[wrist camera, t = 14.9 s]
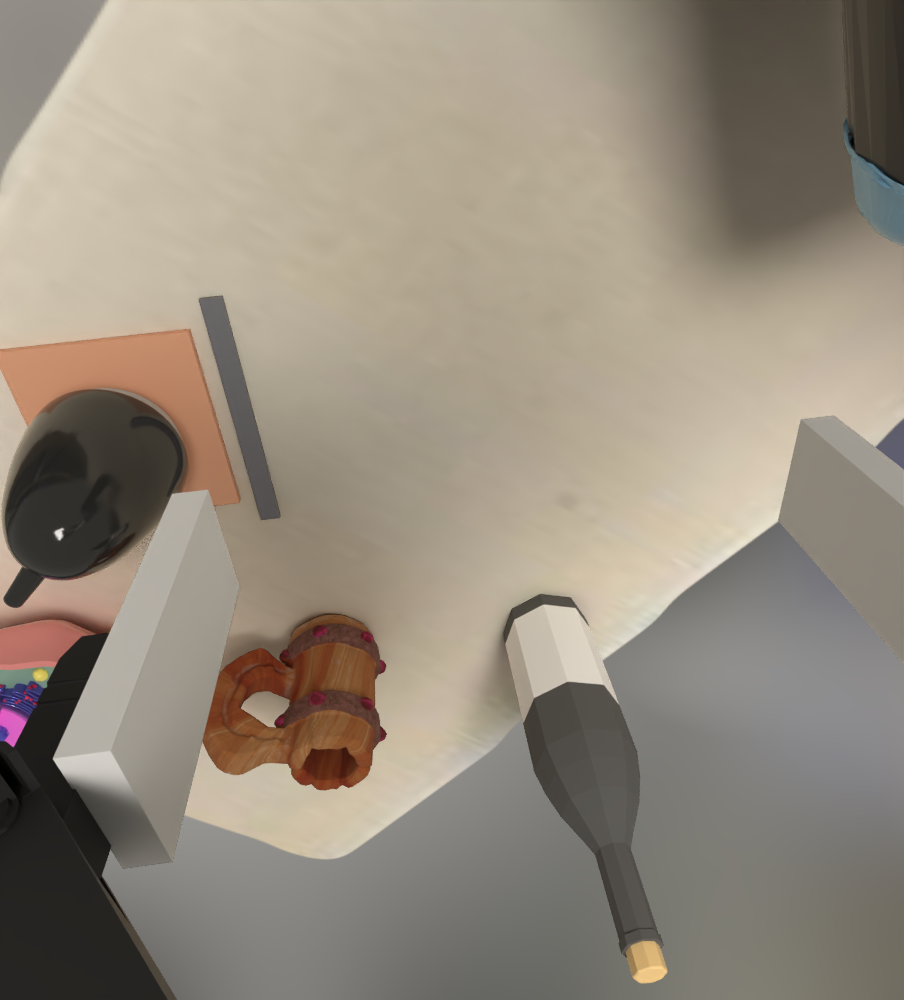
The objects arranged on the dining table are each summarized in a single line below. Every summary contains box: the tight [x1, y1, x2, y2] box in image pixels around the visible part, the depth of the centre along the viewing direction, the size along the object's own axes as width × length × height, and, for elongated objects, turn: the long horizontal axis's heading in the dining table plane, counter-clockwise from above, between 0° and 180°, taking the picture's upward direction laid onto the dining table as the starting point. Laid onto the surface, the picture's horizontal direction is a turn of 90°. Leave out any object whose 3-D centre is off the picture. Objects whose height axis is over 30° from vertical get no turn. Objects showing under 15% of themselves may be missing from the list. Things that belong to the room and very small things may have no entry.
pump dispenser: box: [2, 388, 189, 608], centre depth 44 cm, size 10×10×15 cm
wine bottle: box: [504, 594, 667, 983], centre depth 53 cm, size 8×8×30 cm
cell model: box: [0, 619, 96, 747], centre depth 57 cm, size 17×20×11 cm
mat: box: [0, 329, 240, 506], centre depth 50 cm, size 13×14×1 cm
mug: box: [202, 615, 387, 790], centre depth 57 cm, size 15×8×15 cm, turn 71°
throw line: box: [199, 296, 280, 520], centre depth 51 cm, size 2×18×1 cm, turn 4°
